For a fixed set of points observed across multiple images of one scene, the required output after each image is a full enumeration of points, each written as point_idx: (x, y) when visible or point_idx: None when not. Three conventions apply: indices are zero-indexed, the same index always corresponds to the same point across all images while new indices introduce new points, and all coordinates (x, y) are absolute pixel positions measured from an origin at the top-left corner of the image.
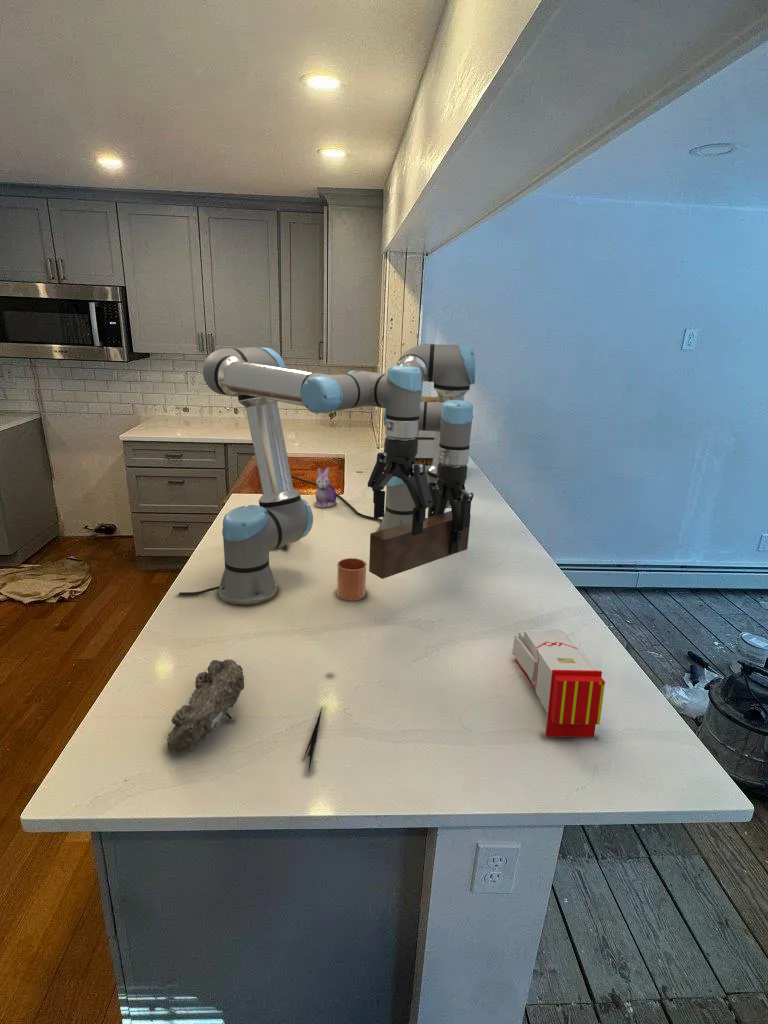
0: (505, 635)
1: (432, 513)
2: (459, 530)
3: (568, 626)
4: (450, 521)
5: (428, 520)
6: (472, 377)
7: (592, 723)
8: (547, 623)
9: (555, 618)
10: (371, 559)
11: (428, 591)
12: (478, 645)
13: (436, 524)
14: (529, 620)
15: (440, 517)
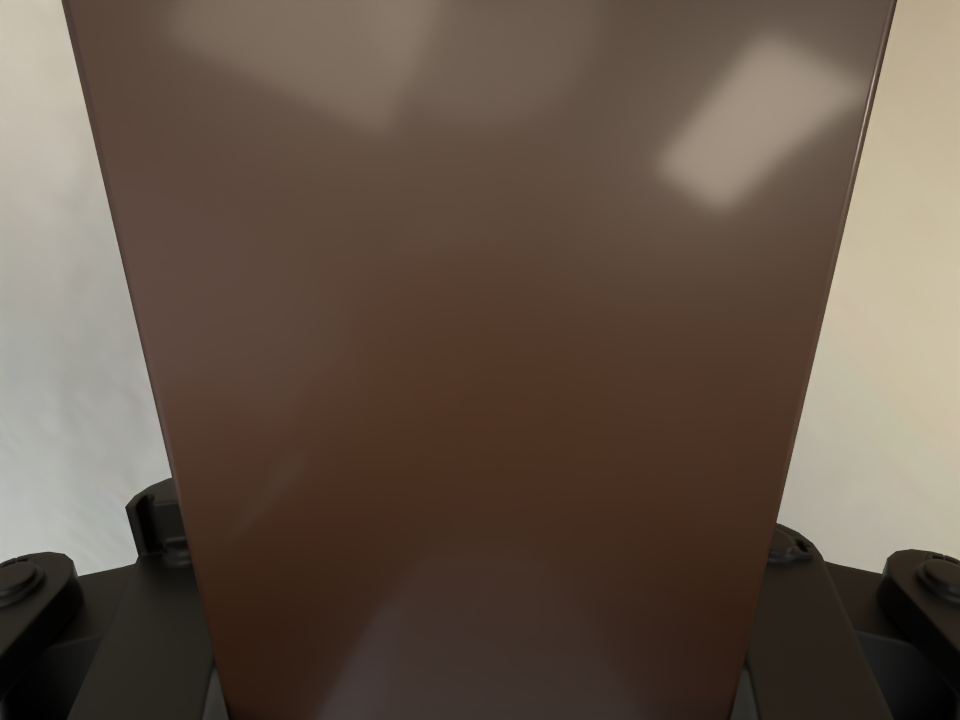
0: (63, 278)
1: (946, 687)
2: (124, 570)
3: (20, 540)
4: (221, 624)
5: (590, 78)
6: None
7: None
8: (73, 498)
9: (93, 550)
10: None
11: None
12: (35, 89)
13: (68, 18)
14: (126, 461)
15: (532, 598)
